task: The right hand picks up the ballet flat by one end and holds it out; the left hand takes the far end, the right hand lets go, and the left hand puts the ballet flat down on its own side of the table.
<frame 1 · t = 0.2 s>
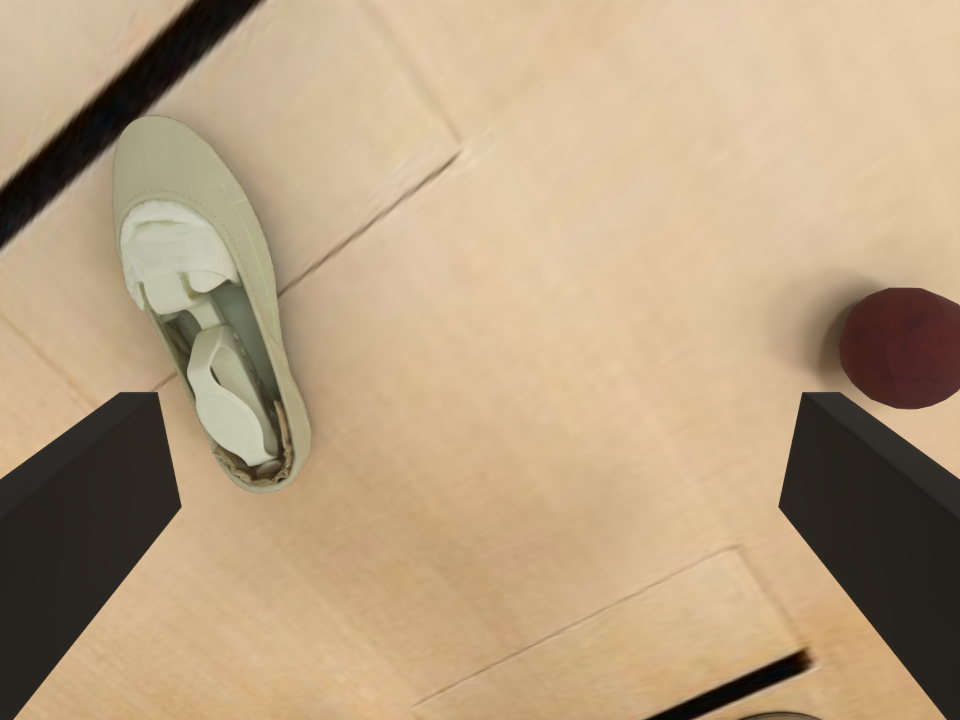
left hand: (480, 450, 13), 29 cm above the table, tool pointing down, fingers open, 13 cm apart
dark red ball: (869, 328, 42), on the table
ballet flat: (237, 304, 41), on the table
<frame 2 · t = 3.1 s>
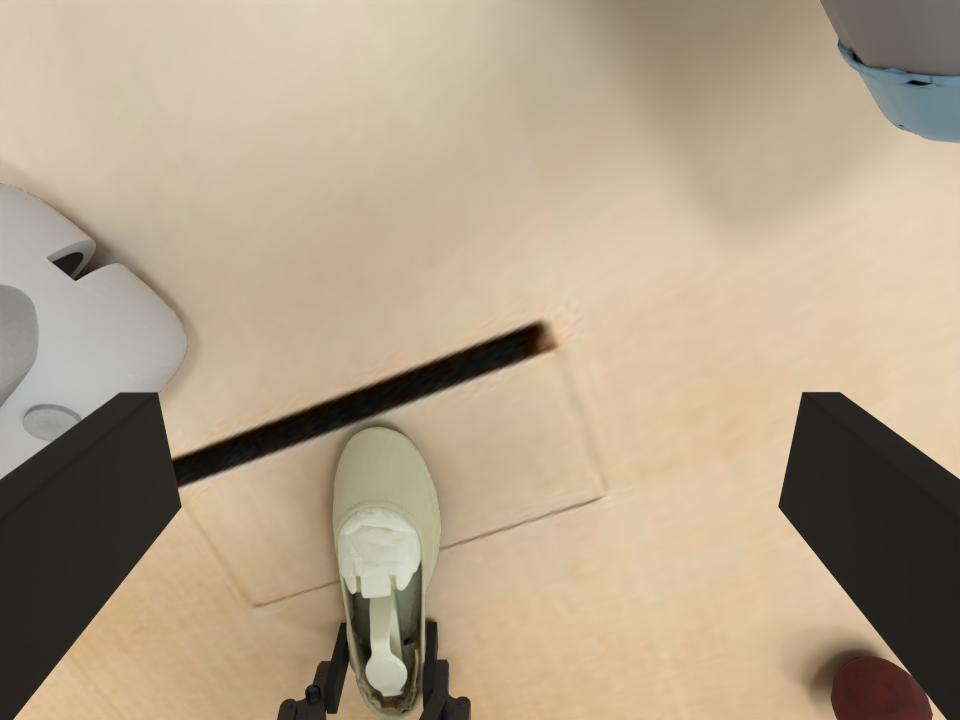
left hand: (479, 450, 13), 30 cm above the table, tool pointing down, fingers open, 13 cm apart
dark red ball: (854, 668, 55), on the table
projector: (49, 354, 44), on the table
ballet flat: (393, 552, 50), on the table, touching right hand
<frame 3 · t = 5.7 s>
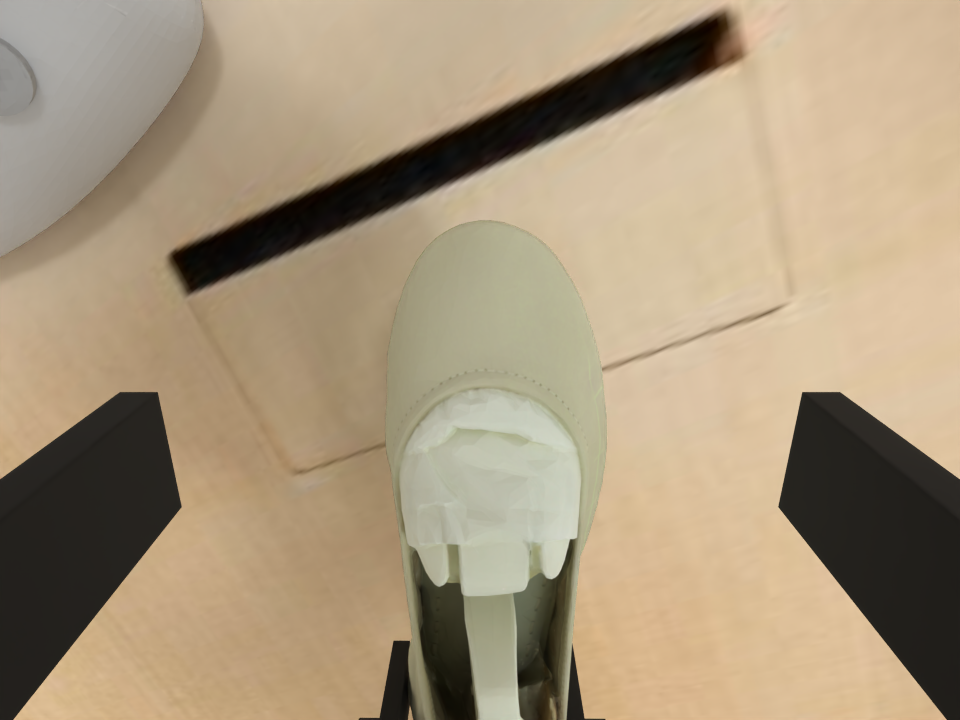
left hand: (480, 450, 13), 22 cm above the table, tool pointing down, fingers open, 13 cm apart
projector: (4, 75, 30), on the table
ballet flat: (497, 505, 26), point 11 cm above the table, touching right hand
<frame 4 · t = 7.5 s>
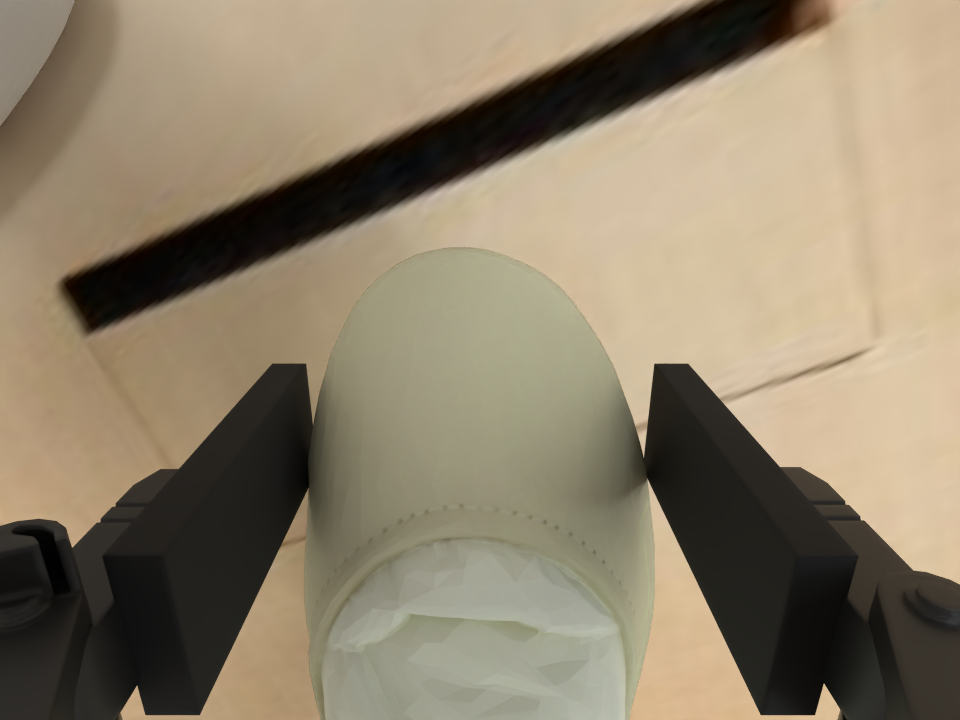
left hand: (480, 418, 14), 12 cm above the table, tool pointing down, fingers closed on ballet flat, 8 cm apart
ballet flat: (489, 657, 18), point 11 cm above the table, touching left hand, right hand
when the right hand's fingers open (12 cm above the table, at t = 8.4 s): ballet flat stays where it is, held by the left hand.
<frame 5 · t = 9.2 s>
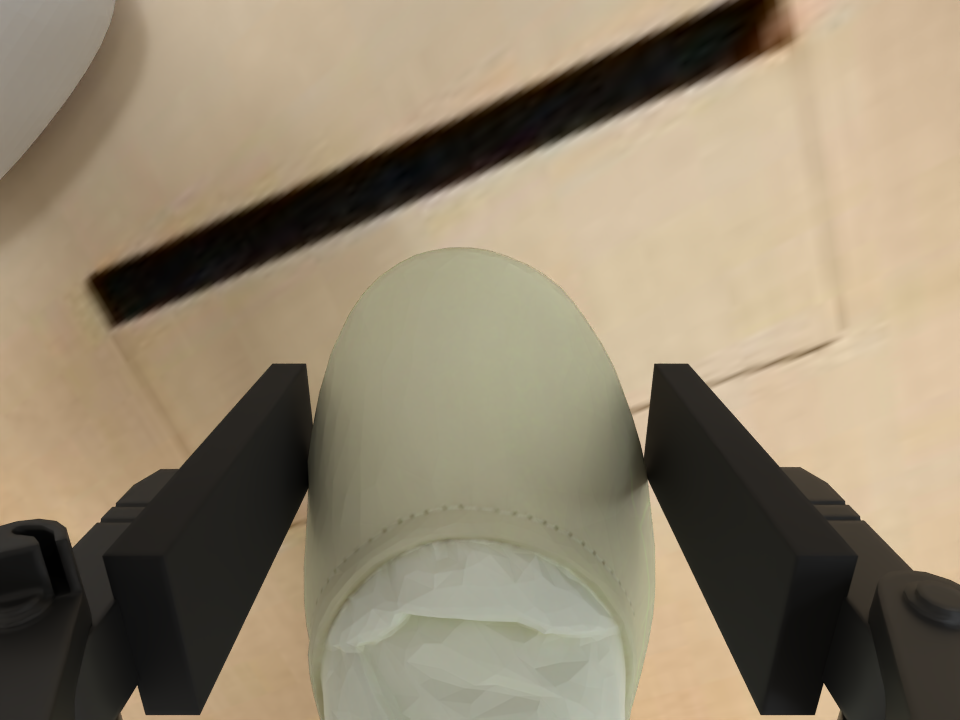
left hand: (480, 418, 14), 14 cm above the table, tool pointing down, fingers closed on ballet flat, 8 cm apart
ballet flat: (489, 658, 18), point 13 cm above the table, touching left hand
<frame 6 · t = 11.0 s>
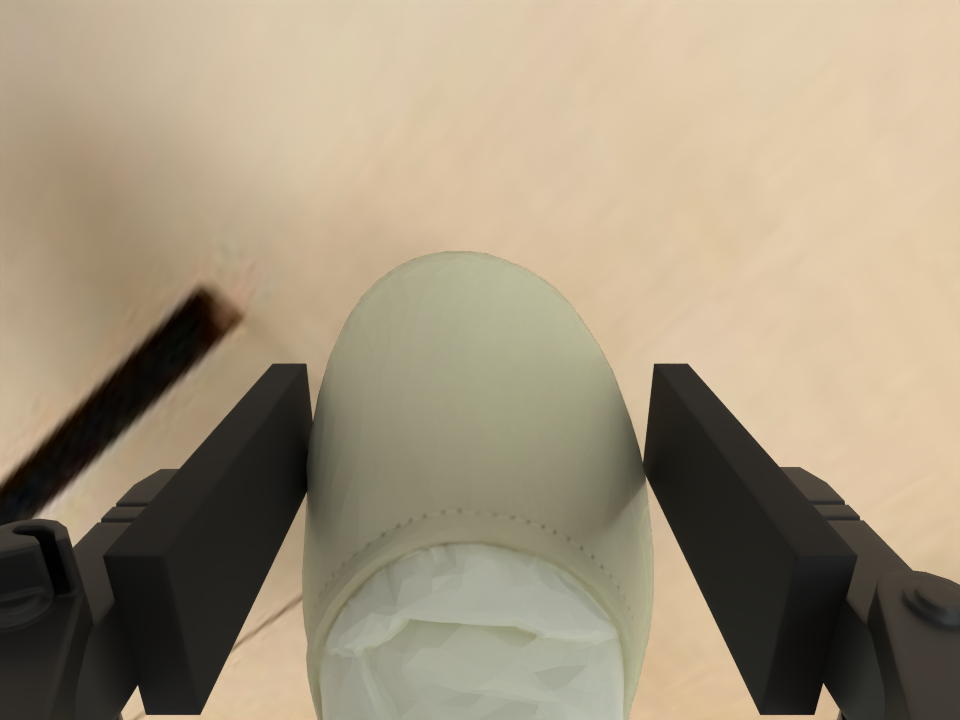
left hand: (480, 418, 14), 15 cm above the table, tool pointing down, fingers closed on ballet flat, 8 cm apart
ballet flat: (487, 660, 18), point 14 cm above the table, touching left hand
when the left hand's fingers open (2 cm above the table, at t = 14.4 s): ballet flat stays where it is, on the table.
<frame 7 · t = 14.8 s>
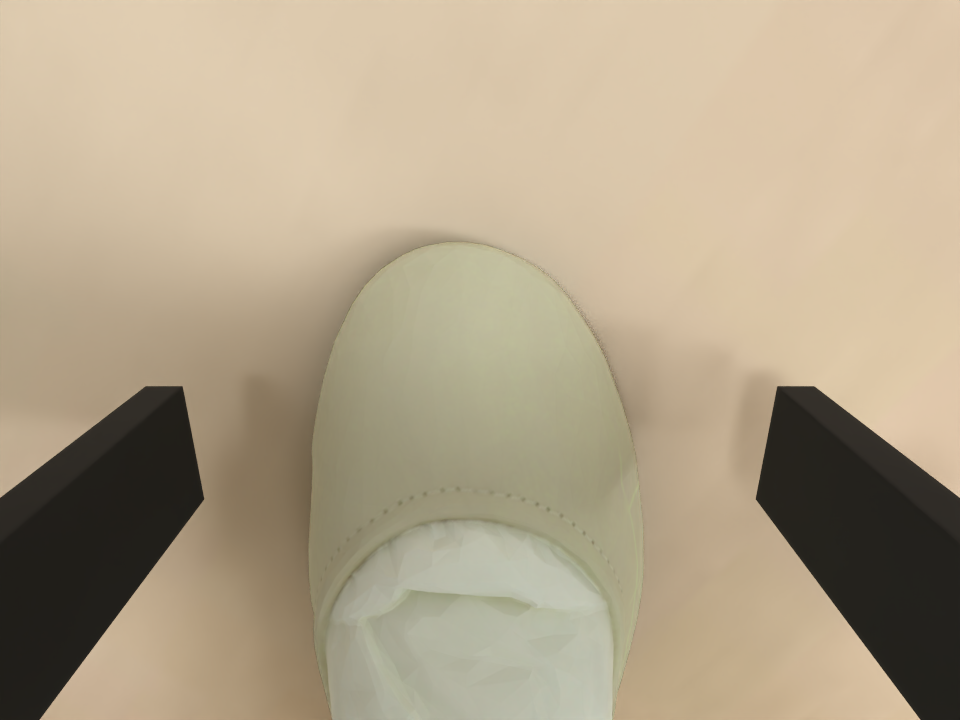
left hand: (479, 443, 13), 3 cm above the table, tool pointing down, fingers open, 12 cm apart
ballet flat: (485, 635, 18), on the table
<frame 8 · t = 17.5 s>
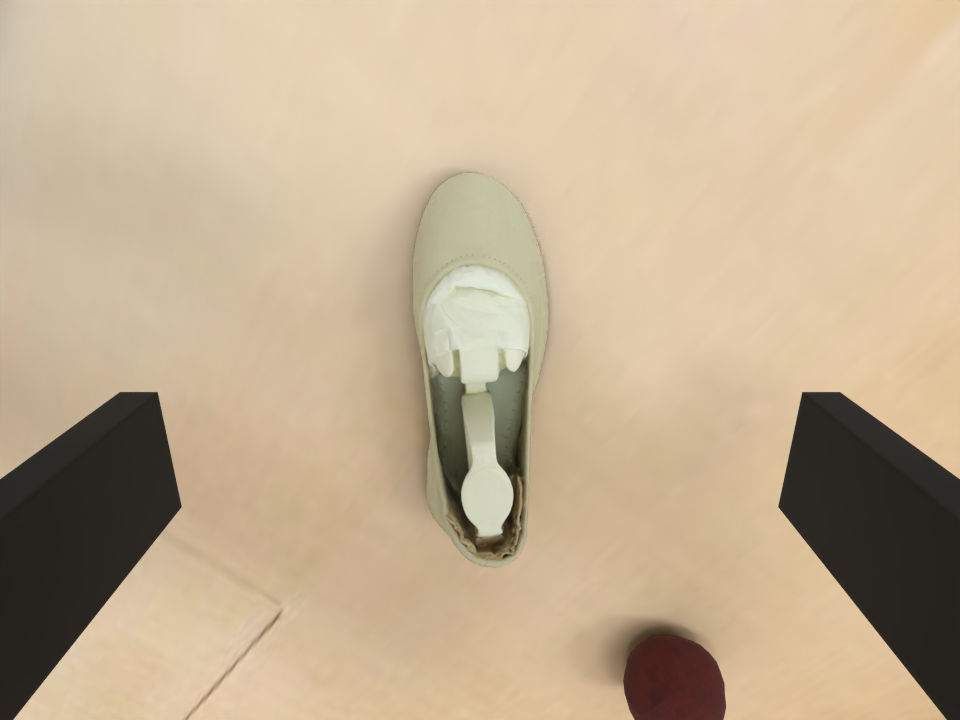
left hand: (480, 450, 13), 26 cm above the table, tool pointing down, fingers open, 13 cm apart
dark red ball: (660, 648, 49), on the table
ballet flat: (482, 364, 40), on the table
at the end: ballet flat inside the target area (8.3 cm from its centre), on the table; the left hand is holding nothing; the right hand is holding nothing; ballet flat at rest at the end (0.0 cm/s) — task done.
